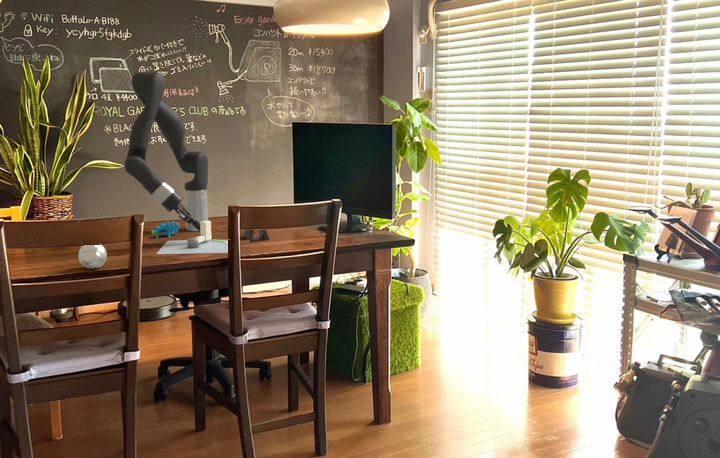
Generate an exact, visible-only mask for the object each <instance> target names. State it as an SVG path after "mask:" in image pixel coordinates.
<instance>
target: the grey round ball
mask: <svg viewBox="0 0 720 458" xmlns="http://www.w3.org/2000/svg"><path fill="white" fill-rule="evenodd" d="M99 244H100V245H84V246H80V249H79V251H78V260H79V263H80V264H81V265H82V266H83V267H84V268H86V269H89V270H91V269H92V270H96V269H98V268H101V267H102V266H103V265H104V264H105V263H106V261H107V257H108V254H107V253H108V252H107V249H106V247H104V245H102V244H101V243H99ZM95 268H96V269H95Z"/></svg>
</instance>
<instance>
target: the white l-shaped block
mask: <svg viewBox="0 0 720 458" xmlns="http://www.w3.org/2000/svg"><path fill="white" fill-rule="evenodd" d="M199 232H200V235H198V236H196V237H189V238H187V239H186V240H187V246H188V248H197V247H199V243H200V242H202V241H207V240H210V239H211V240H213V239H212V238H213V235H212V221H211V220H208V221H202V222H200V231H199Z"/></svg>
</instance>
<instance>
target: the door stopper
mask: <svg viewBox="0 0 720 458" xmlns="http://www.w3.org/2000/svg"><path fill="white" fill-rule="evenodd" d="M257 232H258V234H259V235H258V236H256V237H255V236H254V233H255V229H254V230H246V229H245V230H244V234H243V237H244V238H246V239H248V240H249V241H253V242H261V240H262V241H269V240H270V238H269V234H268V232H267V229H266V230H258V229H257Z"/></svg>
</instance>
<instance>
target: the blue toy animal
mask: <svg viewBox="0 0 720 458" xmlns="http://www.w3.org/2000/svg"><path fill="white" fill-rule="evenodd" d="M179 229H180V225H179V223H178V222H175V221H174V220H173V221H171V222H169V221H165V224H164V223H160V224H159V226H156V227H155V230H154V229H152V230H151V235H154V237H155V238H157V239H158V238H159V237H162V236H167V238H171V235H175V233H178V232H179Z"/></svg>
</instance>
